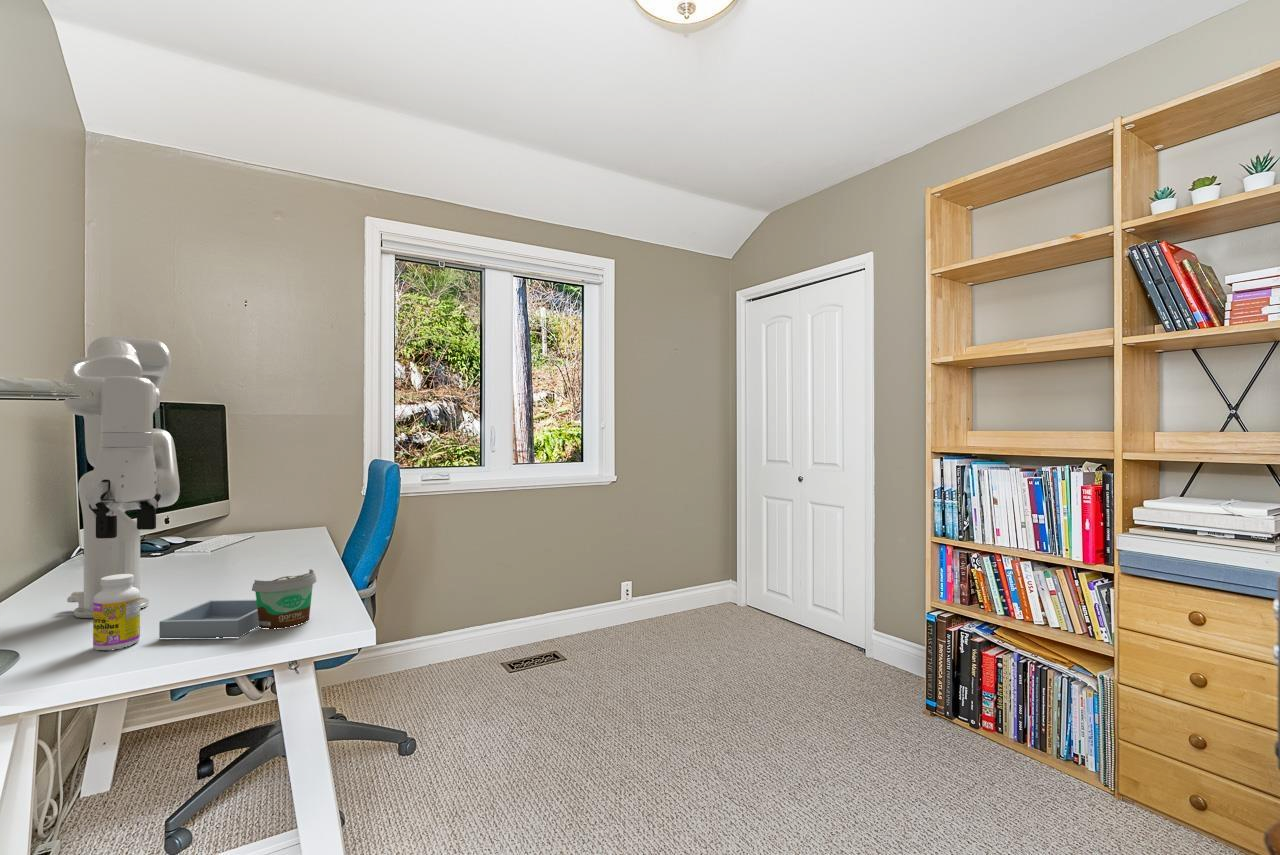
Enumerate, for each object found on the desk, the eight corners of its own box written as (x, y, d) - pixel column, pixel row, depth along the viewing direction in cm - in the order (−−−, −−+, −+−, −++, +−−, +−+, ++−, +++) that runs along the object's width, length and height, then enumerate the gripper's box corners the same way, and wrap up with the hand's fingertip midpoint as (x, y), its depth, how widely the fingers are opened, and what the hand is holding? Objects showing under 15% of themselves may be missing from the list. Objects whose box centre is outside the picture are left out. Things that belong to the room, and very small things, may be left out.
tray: (159, 640, 116) (159, 621, 116) (209, 616, 131) (209, 600, 131) (238, 638, 117) (238, 620, 117) (279, 615, 132) (279, 599, 132)
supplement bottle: (82, 651, 110) (82, 580, 110) (116, 639, 117) (116, 572, 117) (117, 652, 110) (117, 581, 110) (149, 639, 116) (149, 572, 116)
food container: (267, 636, 119) (267, 584, 119) (251, 630, 122) (251, 580, 122) (328, 619, 129) (328, 572, 129) (312, 614, 132) (312, 568, 132)
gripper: (140, 441, 123) (140, 526, 123) (66, 443, 106) (65, 542, 105) (179, 441, 123) (179, 526, 123) (111, 443, 106) (111, 541, 106)
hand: (127, 533), depth 114 cm, fingers open, 9 cm apart
